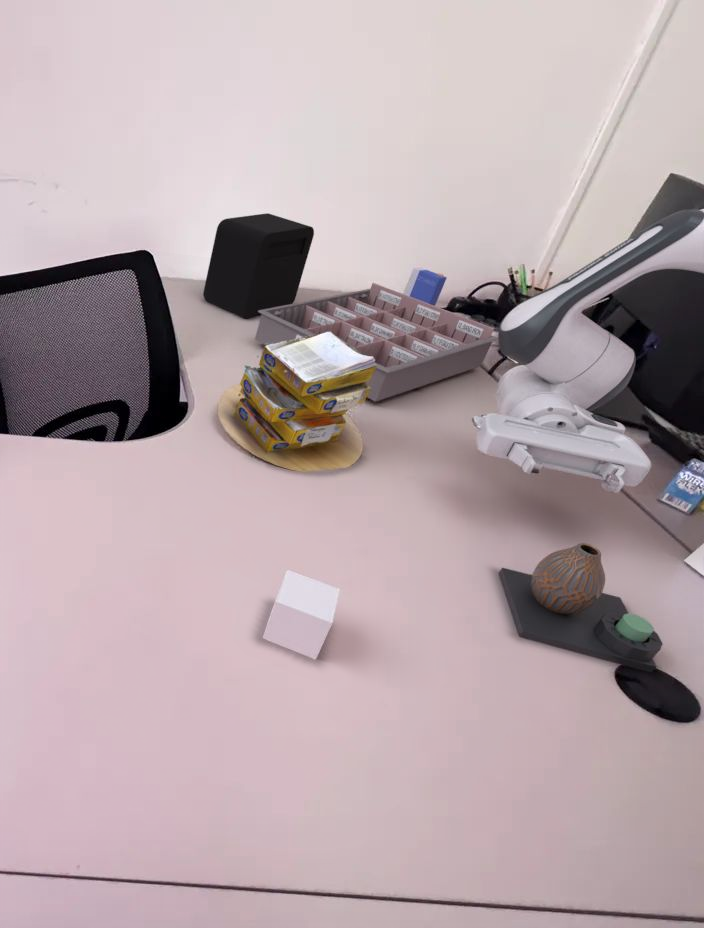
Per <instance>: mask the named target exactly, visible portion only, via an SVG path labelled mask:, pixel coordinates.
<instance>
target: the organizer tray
mask: <svg viewBox="0 0 704 928" xmlns="http://www.w3.org/2000/svg"><path fill="white" fill-rule="evenodd" d="M258 312H259V313H261V314H262V315H261V316H260V319H259V322H258V326H257V330H256V334H255V337H254V341H255V342H258V343H260V344H262V345H263V346H267V345H270V344H275V343H279V342H282V341H285V340H287V342H288V341H290V340H293V339H295V338H296V339H298V338H297V337H299V338H302V337H304V338H303V339H300V340H305V339H307V338H310V337H312V336H313V335H319V334H322V333H325V332H331V333H332V334H334V335H335V336H337V337H338V338H340V339H341V340H342V341H344V342H345V343H347V344H348V345H350V346H351V347H353V348H354V349H356V350H357V351H358V352H360V353H361V354H362V355H365V356H371V357H374V359H375V364H376V368H375V371H374V372H373V374H372V376H371V378H370V380H369V381H366V384H367V385H368V386H370V388H371V389H370V392H369V394H368V396H367V397H366V399H367V398H368V399H369V400H371V401H373V402H375V403H376V402H380V401H382V400H385V399H388V398H391V397H394V396H397V395H399V394H403V393H406V392H408V391H411V390H414V389H416V390H417V388H420V387H423V386H426V385H430V384H432V383H435V382H438V381H441V380H444V379H447V378H451V377H453V376H456V375H459V374H462V373H465V372H468V371H471V370H473V369H474V370H475V369H476V368H479V367H481V366H482V365H483V363H484V361H485V358H486V357H487V354H488V352H489V350H490V348H491V346H492V344H493V342H496V341H499V340H498V337H497V336H494V335H493V332H494V331H495V328H494V327H491V326H490V325H485V324H483V323H481V322H478V321H476V320H473V319H470V318H467V317H466V316H462V315H460V314H457V313H454V312H452V311H449V310H447V309H444V308H441V307H439V306H436V305H435V306H434V305H431V304H428V303H426V302H423V301H420V300H418V299H415V298H412V297H410V296H407V295H404V294H403V293H401V292H399V291H396V290H394V289H391V288H388V287H386V286H383V285H380V284H378V283H375V282H372V283H371V286H370V288H365V289H361V290H356V291H351V292H345V293H342V294H341V293H340V294H335V295H329V296H325V297H320V298H314V299H311V300H305V301H300V302H299V301H298V302H294V303H293V304H289V305H284V306H279V307H273V308H268V309H263V310H259V311H258ZM309 335H311V336H309ZM305 336H307V337H305ZM296 339H295V340H296ZM266 343H268V344H266Z"/></svg>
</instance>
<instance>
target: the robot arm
mask: <svg viewBox="0 0 704 928" xmlns="http://www.w3.org/2000/svg"><path fill="white" fill-rule="evenodd" d="M661 270H683V271H691V272H696V273H700V274H704V208H702V209H682V210H679V211H675V212H673V213H671V214H669V215H667V216H665V217H663V218H662V219H660V220H658V221H656V222H654V223H652V224H651V225H648V226H647V227H645V228H644V229H642V230H640V231H639V232H637V233H635V234H634V235H632V236H631V237H629V238H628V239H626V240H624V241H622V242H621V243H619V244H618V245H616V246H615V247H613V248H611V249H609V251H607V252H605V253H604V254H602V255H600V256H599V257H598V258H596V259H594V260H592V261H591V262H590V263H588V264H586V265H585V266H583V267H581V268H580V269H579V270H577V271H575V272H573V273H572V274H570V275H569V276H567V277H566V278H564V279H562V280H561V281H559V282H557V283H556V284H554V285H553V286H550V287H549V288H546V289H545V290H543V291H540V292H539V293H537V294H534V295H533V296H531V297H529V298H527V299H525V300H524V301H522V302H520V303H519V304H518V305H516V306H515V307H514V308H512V309H511V310H510V311H509V312H508V313H507V314H506V315H505V316H504V318H503V319H502V320H501V322H500V324H499V327H498V335H497V336H498V337H497V338H498V340H497V341H498V345H499V349H500V353H501V354H502V355H503V356H505V357H507V358H509V359H511V360H512V361H514V362H516V363H517V364H520V365H517V366H514V367H512V368H510V369H508V370H507V371H506V372H504V374H503V375H501V377H500V379H499V380H498V383H497V385H496V388H495V404H496V408H497V411H498V413H496V412H490V413H487V414H481V415H473V417H472V418H471V423H472V426H473V427H474V429H475V430H476V435H475V443H476V448H477V450H478V451H479V452H481V453H482V454H484V455H486V456H489V457H490V456H491V457H495V458H499V459H504V460H508V461H511V462H512V463H514V464H516V465H517V466H519V467H520V468H522V470H523V473H525V474H530V475H534V476H539V474H540V471H541V470H542V469H543V468H544V469H550V470H555V471H559V472H564V473H568V474H571V475H572V474H573V475H576V476H581V477H586V478H589V479H594V480H599V481H601V483H600V486H601V488H603V491H607V492H611V493H615V494H619V493H620V492H621V490H622V488H623V487H624V486H627V487H632V488H633V487H637V486H638V485H639V484H641V482H642V481H643V480H644V479H645V478H646V477H647V475H648V473H649V472H650V470H651V468H652V462H651V460H650V458H649V457H648V455H647V454H646V452H645V451H644V450H643V449H642V448H641V446H640V445H639V444H638V443H637V442H636V441H635V440H634V439H633V438H631V437H630V436H628V435H626V434H625V433H626V430H627V429H626V427H625V425H624V424H622V423H621V422H618V421H615V420H612V419H610V418H607V417H604V416H601V415H599V414H595V413H593V412H592V411H594V410H596V409H599V408H600V407H602V406H603V405H605V404H607V403H609V402H610V401H612V400H613V399H615V398H616V397H617V396H618V395H619V394H620V393H622V391H624V389H626V387H627V386H628V384H629V383H630V381H631V379H632V376H633V374H634V371H635V368H636V361H637V360H636V353H635V350H634V349H633V348H632V347H630V346H629V345H628V344H626V343H625V342H624V341H622V340H621V339H619V337H617V336H616V335H614V334H613V333H611V332H610V331H608V330H607V329H604V328H603V327H601V326H600V325H599V324H597V323H596V322H594V321H593V320H592V319H591V318H589V317H587V315H585V314H583V313H582V311H583V310H585V309H586V308H588V307H590V306H591V305H594V304H595V303H597V302H598V301H600V300H601V299H603V298H605V297H607V296H609V295H610V294H612V293H613V292H615V291H617V290H618V289H620V288H622V287H624V286H625V285H627V284H628V283H630V282H632V281H634V280H635V279H637V278H639V277H641V276H643V275H645V274H648V273H652V272H654V271H661Z"/></svg>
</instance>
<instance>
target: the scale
mask: <svg viewBox="0 0 704 928" xmlns="http://www.w3.org/2000/svg"><path fill="white" fill-rule="evenodd" d="M498 576H499V579H500V582H501V586H502V589H503V591H504V594H505V598H506V601H507V604H508V607H509V610H510V613H511V616H512V619H513V622H514V625H515V628H516V631H517V634H518V637H519V638H521V639H526V640H529V641H532V642H537V643H541V644H544V645H548V646H552V647H554V648H558V649H563V650H566V651H570V652H573V653H577V654H580V655H585V656H588V657H591V658H595V659H599V660H604V661H606V662H609V663H614V664H617V665H620V666H621V665H622V666H625V667H629V668H632V669H636V670H640V671H642V672H643V671H644V672H647V673H650V674H651V673H653V672H654V671H655V670H656V669H657V665H656V663H655V660H654V657H656V655H657V654H658V653H659V652H660V651H661V649H662V646H663V645H664V644H663V641H662V639H661V638H660V636H659V634H658V633H657V632H656V631H655V630H654V631H653V632H652V634H651V635H650V636H649V637H648V638H647V639H646V641H645V642H643V643H639V642H635V641H632V640H630V639H629V638H627V637H625V636H623V635H622V634H621V633H620V632H618V631H617V630H616V628H615V626H616V624H617V623H618V622H619V621H620V619H621V618H622V617H623V616H624V615H625V614H630V613H629V612H628V610H627V607H626V606H625V604H624V602H623V600H622V598H621V597H619V596H616V595H612V594H609V593H604V592H602V594H601V595H600V597H599V598H598V600H597V601H596V602H595V603H594V604H593V605H592V606H590V607H589V608H587V609H586V610H584V611H581V612H579V613H574V614H560V613H555V612H553V611H550V610H548V609H546V608H545V607H543V606H542V605H541V604H540V603H539V602H538V601H537V600H536V599H535V597H534V595H533V593H532V590H531V578H532V574H528V573H525V572H521V571H517V570H513V569H509V568H505V567H501V568H500V571H499V572H498Z"/></svg>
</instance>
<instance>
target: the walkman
mask: <svg viewBox="0 0 704 928" xmlns="http://www.w3.org/2000/svg"><path fill="white" fill-rule="evenodd" d="M447 278H448V277H447V276H444V274H443V273H440V272H439V273H437V272H433V271H431V270H429V269H426V268H423V267H413V268H412V271H411V272H410V276H409V278H408V281H407V283H406V285H405V287H404V291H403V293H402V294H404V295H407V296H410V297H412V298H415V299H418V300H420V301H423V302H426V303H428V304H431V305H434V306H436V305H437V302H438V300H439V298H440V295H441V293H442V291H443V290H442V289H443V288H444V286H445V283H446V280H447Z"/></svg>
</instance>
